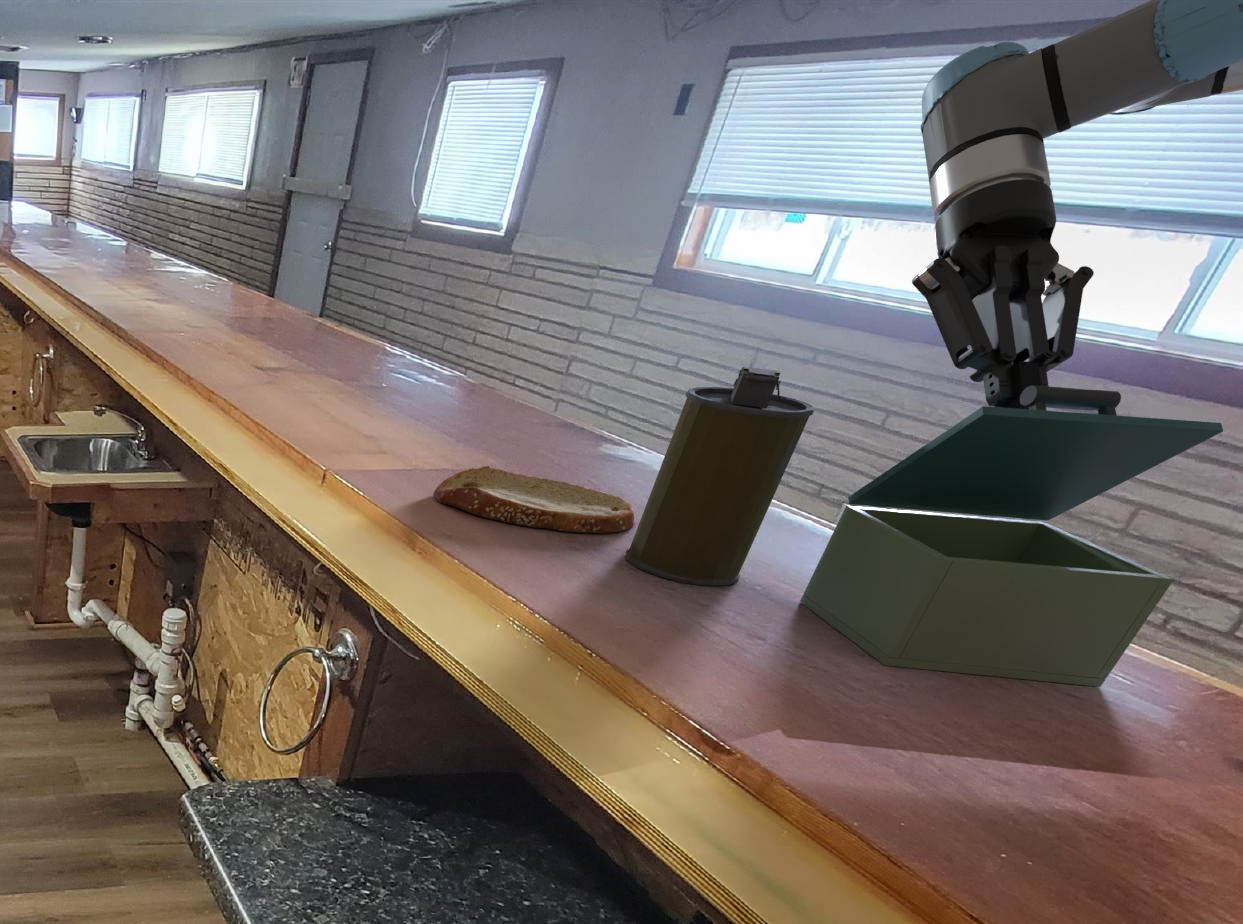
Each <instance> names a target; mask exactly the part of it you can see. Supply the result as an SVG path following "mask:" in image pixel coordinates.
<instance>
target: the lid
mask: <svg viewBox="0 0 1243 924" xmlns="http://www.w3.org/2000/svg"><path fill="white" fill-rule="evenodd" d="M1121 401H1122V395H1121V393H1120V392H1119V391H1117V390H1108V389H1093V388H1092V389H1091V388H1079V387H1076V388H1075V387H1064V386H1050V385H1049V386H1035V385H1032V386H1029V387H1027V388H1026V389H1025V390H1024V391H1023V392H1022V394H1021V396H1020V403H1021V404H1022V405H1023V406H1029V409H1016V408H1001V407H994V406H986V405H985V406H984V405H983V406H981V407H979V408H977V409H976V410H975V411H973V412H972V413H970V414H969V415H967V416H966V417H964V418H963V419H961V420H960V421H958V422H957V423H956V424H953V425H952V426H951V427H949V428H948V429H946V430H945V431H944V432H942V433H940V434H939V435H938V436H936V437H934V438H933V439H932V440H930V441H929V442H927V443H926V444H925V445H922V446H921V447H920V448H919V449H917V450H916V451H914V452H912V453H911V454H910V455H908V456H907V457H906V458H904V459H902V460H901V461H899V462H898V463H896V464H894V465H893V466H892V467H890V468H889V469H888V470H886V471H884V472H883V473H881V474H880V475H878V476H877V477H875V478H874V479H872V480H871V481H870V482H868V483H867V484H865V485H864V486H862V487H861V488H859V489H858V490H857V491H855V492H853V493H852V494H851V495H849V496H848V497H847V498H848V499H847V500H848V504H849V505H851V506H863V507H875V508H888V509H900V510H912V511H924V512H936V513H948V514H960V515H965V514H966V515H973V516H985V517H997V518H1009V519H1021V520H1033V521H1036V520H1037V521H1045V522H1047V521H1050V520H1053V519H1054V518H1056V517H1058V516H1060V515H1063V514H1064V513H1066V512H1068V511H1070V510H1072V509H1074V508H1077V507H1078V506H1080V505H1082V504H1084V503H1086V502H1088V501H1090V500H1091V499H1094V498H1096V497H1098V496H1100V495H1102V494H1103V493H1106V492H1107V491H1110V490H1111V489H1113V488H1115V487H1118V486H1119V485H1121V484H1124V483H1125V482H1127V481H1129V480H1131V479H1133V478H1136V477H1137V476H1138V475H1140V474H1143V473H1145V472H1146V471H1149V470H1150V469H1152V468H1155V467H1156V466H1159V465H1161V464H1163V463H1165V462H1166V461H1168V460H1170V459H1172V458H1175V457H1176V456H1178V455H1180V454H1182V453H1184V452H1186V451H1188V450H1190V449H1192V448H1193V447H1196V446H1198V445H1200V444H1202V443H1204V442H1206V441H1207V440H1209V439H1211V438H1213V437H1215V436H1217V435H1219V434H1221V433H1223V432H1224V428H1223V424H1222V422H1212V421H1202V420H1201V421H1199V420H1186V419H1172V418H1171V419H1169V418H1155V417H1141V416H1129V415H1118V414H1117V410H1116V408H1117V407H1118V406H1119V404H1120V403H1121ZM1048 408H1049V409H1064V410H1078V411H1091V412H1097V413H1088V412H1087V413H1084V412H1074V411H1073V412H1070V411H1058V410H1057V411H1055V410H1047V409H1048Z"/></svg>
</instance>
